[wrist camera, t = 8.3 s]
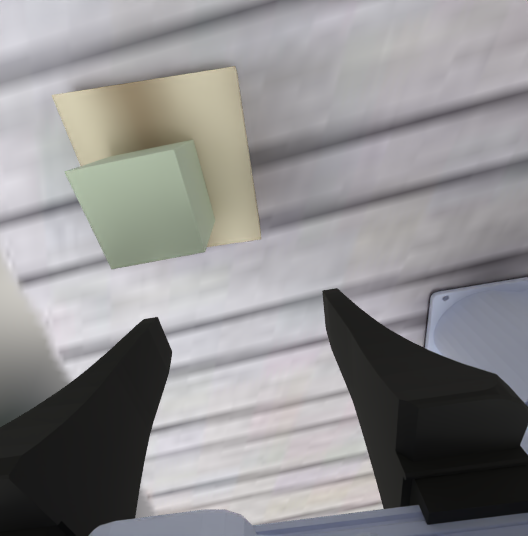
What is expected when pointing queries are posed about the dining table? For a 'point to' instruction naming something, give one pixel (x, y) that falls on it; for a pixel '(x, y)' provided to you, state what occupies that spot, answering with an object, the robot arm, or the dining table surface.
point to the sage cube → (146, 204)
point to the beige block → (175, 136)
